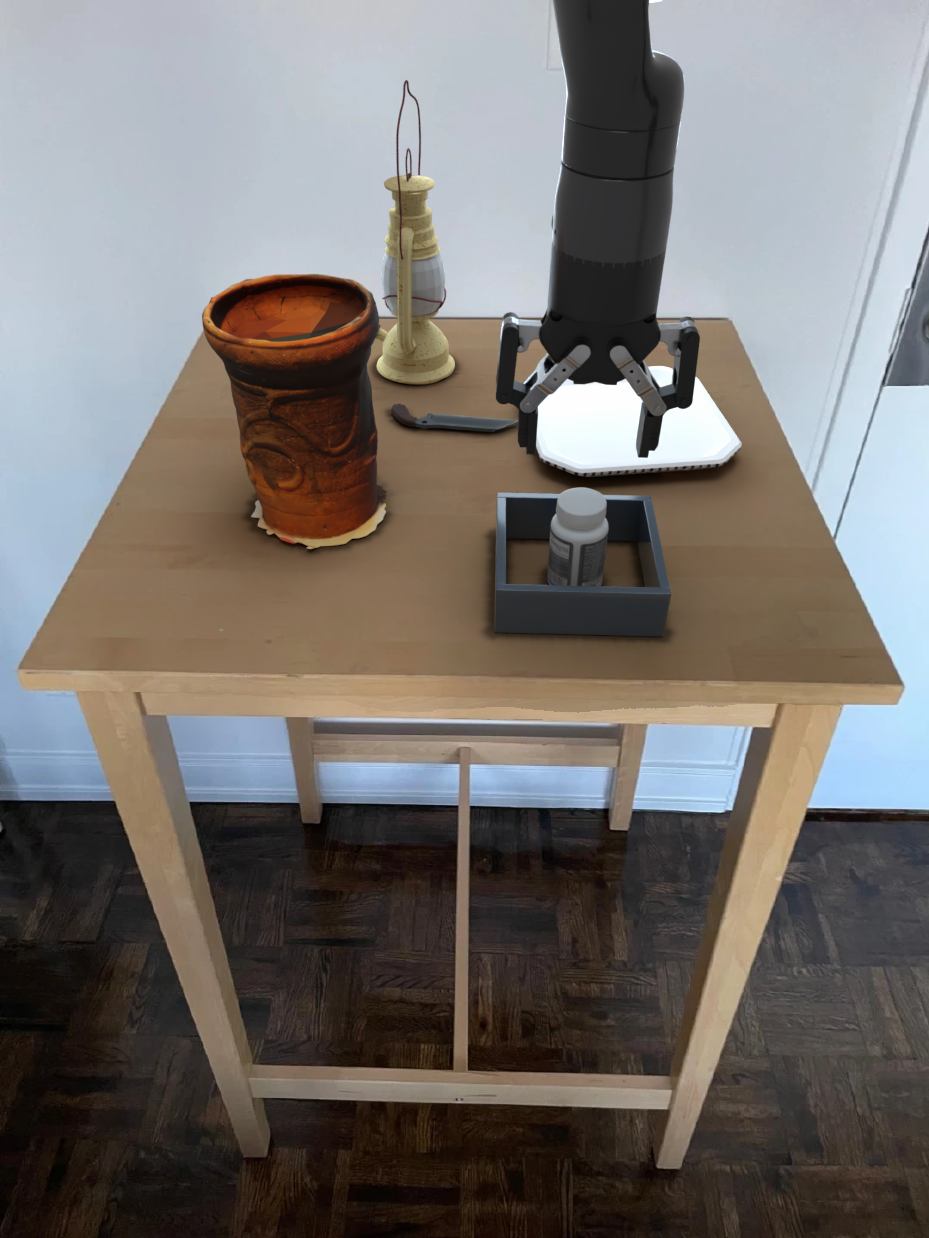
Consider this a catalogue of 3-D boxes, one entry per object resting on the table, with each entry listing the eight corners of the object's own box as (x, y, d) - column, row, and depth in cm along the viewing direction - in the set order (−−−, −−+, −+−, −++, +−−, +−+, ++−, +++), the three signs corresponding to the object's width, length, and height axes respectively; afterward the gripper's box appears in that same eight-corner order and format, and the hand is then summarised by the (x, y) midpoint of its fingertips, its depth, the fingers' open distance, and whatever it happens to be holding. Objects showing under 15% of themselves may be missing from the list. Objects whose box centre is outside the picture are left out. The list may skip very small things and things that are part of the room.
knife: (385, 426, 101) (385, 420, 100) (393, 408, 104) (393, 402, 103) (516, 436, 99) (516, 430, 99) (520, 418, 102) (520, 412, 101)
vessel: (207, 530, 87) (161, 321, 73) (290, 455, 96) (263, 259, 83) (344, 570, 82) (321, 355, 69) (416, 487, 92) (409, 285, 79)
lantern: (384, 341, 116) (368, 64, 97) (462, 347, 115) (463, 68, 95) (360, 387, 107) (338, 92, 88) (445, 394, 106) (442, 96, 86)
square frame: (644, 536, 86) (651, 495, 83) (663, 637, 76) (671, 594, 73) (495, 533, 86) (497, 492, 83) (494, 632, 76) (495, 589, 73)
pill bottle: (601, 566, 83) (611, 486, 77) (602, 601, 79) (612, 519, 74) (547, 563, 83) (553, 482, 78) (545, 597, 80) (551, 515, 74)
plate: (545, 492, 91) (546, 473, 90) (510, 391, 107) (511, 373, 105) (750, 478, 93) (754, 458, 92) (686, 381, 109) (690, 363, 107)
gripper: (500, 256, 59) (493, 475, 70) (728, 260, 59) (686, 480, 70) (501, 215, 65) (494, 424, 75) (709, 219, 64) (672, 428, 75)
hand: (586, 451), depth 73 cm, fingers open, 8 cm apart
